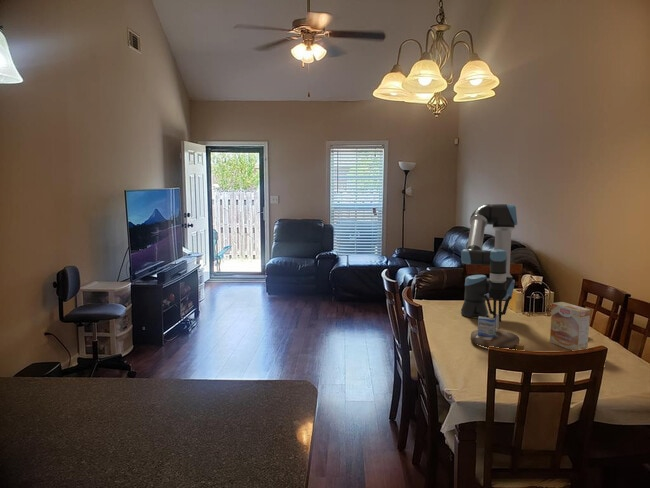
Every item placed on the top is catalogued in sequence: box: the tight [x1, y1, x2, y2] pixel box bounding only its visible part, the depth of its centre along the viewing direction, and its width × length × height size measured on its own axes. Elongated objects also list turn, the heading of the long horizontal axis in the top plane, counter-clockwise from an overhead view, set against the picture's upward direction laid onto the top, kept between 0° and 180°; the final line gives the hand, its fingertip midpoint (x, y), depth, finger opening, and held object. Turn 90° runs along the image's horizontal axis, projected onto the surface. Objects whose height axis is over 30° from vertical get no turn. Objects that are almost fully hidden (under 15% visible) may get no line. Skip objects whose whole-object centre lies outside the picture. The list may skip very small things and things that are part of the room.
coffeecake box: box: [549, 301, 591, 351], centre depth 211 cm, size 15×7×20 cm, turn 23°
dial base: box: [487, 343, 525, 351], centre depth 215 cm, size 24×19×3 cm
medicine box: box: [477, 316, 496, 337], centre depth 217 cm, size 8×4×9 cm, turn 66°
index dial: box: [470, 328, 520, 349], centre depth 216 cm, size 22×22×7 cm
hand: (497, 327), depth 224 cm, fingers closed
